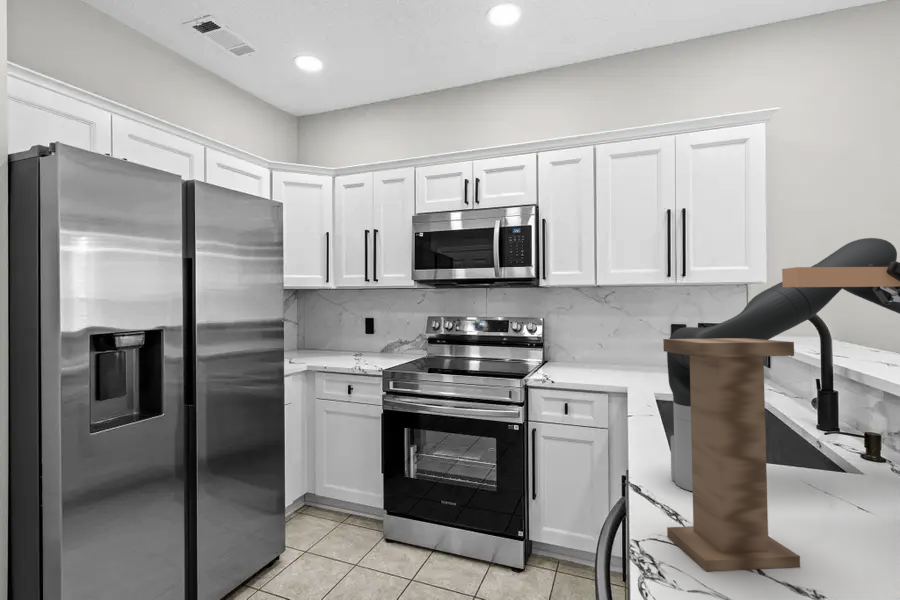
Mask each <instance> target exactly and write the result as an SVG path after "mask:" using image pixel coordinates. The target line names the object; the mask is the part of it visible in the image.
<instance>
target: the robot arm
mask: <svg viewBox="0 0 900 600" xmlns="http://www.w3.org/2000/svg"><path fill="white" fill-rule="evenodd" d="M897 259H898V252H897V249H896V247H895V245H894V244H892V242H889V241H888V240H886V239H883V238H878V237H877V238H876V237H867V238H859V239H856V240H853V241H850V242H847V243H846V244H844V245H843V246H841V247H839V248H838V249H837V250H835V251H833V252H832V253H831V254H829V255H828V256H827V257H824V259H821V261H819V262H817V263H816V264H814V265H812V266H811V267H888V269H887V274H889V275H890V276H892V277H894V278H895V279H897V280H899V281H900V262H899V261H897ZM842 290H844V291H846V292H847V293H850V294H852V295H853V296H857V297H858V298H861V299H863V300H866V301H868V302H870V303H873V304H875V305H878V306H880V307H881V308H885V309H887V310H889V311H892V312H894V313H897V314H899V315H900V286H899V287H783V284H782V281H780V282H778V283H776V284H775V285H772V286H771V287H769V288H767V289H764V290H762V291H761V292H760V293H758V294H757V295H755V296H754V297H752V298H751V299H750V300H749V302H748V303H747V304H746V305H745V307H744V309H743V310H742V311H741V312H739V314H737V315H735V316H733V317H731V318H729V319H727V320H725V321H722V322H720V323H717V324H715V325H711V326H707V327H697V326H695V327H694V326H693V327H692V326H685V327H680V328H678V329H677V330H675V331H674V332H672V334H670V337H669V339H714V338H749V339H762V340H771V339H772V338H774V337H777V336H778V335H780V334H783V333H784V332H787V331H788V330H791V329H792V328H795V327H796V326H798V325H800V324H802V323H804V322H807V321H808V320H809V319H811V318H813V317H814V316H815V315H817V314H818V313H819V312H820V311H821V310H822V309H824V308H825V307H826V306H827V305H828V304H829V303H830V301H832V299H833V298H835V296H837V294H838V293H839V292H840V291H842ZM666 360H667V374H668V384H669V388H670V391H671V393H672V396H673V398H672V400H673V435H671V436H670V474H671V475H670V476H671V477H670V478H671V480H672V481H673V482H674V483H675V484H676V485H677V486H678V487H679V488H681V489H683V490H686V491H690V492H693V486H692V441H691V395H690V355H684V354H677V353H671V352H666Z"/></svg>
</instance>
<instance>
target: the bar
mask: <svg viewBox="0 0 900 600" xmlns="http://www.w3.org/2000/svg"><path fill="white" fill-rule="evenodd" d="M887 269H888V267H812V266H804V267H803V266H795V267H788V268H782V269H781V277H782V279H781V280H782V281H781V282H782V284H783V287H899V286H900V281H899V280H897V279H895V278H894V277H892V276H890V275H889V274H887Z"/></svg>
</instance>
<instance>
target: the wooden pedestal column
mask: <svg viewBox="0 0 900 600" xmlns="http://www.w3.org/2000/svg"><path fill="white" fill-rule="evenodd" d="M662 339H663V352H666V353H667V352H671V353H677V354H684V355H690V395H691V441H692V486H693V491H692V519H693V520H692V522H693V523H692V524H693V525H692V526H691V525H690V526H669V527H668V526H667V527H666V528H667V529H666V530H667V531H666V534H667V535H666V536H667V538H668V539H669V540H670V541H671V542H673V543H674V544H675V545H676V546H677V547H678V548H679V549H681V551H683V552H684V553H685V554H686V555H688V557H689V558H690V559H692V560H693V561H694V562H695V563H696V564H697V565H698V566H699V567H700V568H702V569H703V570H704V571H705V572H723V571H725V572H727V571H739V570H740V571H743V570H744V571H745V570H762V569H763V570H765V569H780V568H781V569H782V568H783V569H784V568H785V569H786V568H800V567H801V556H800V555H799V554H797V553H796V552H794V551H792V550H791V549H790V548H788V547H786V546H785V545H784V544H781V543H780V542H778V541H777V540H775V539H774V538H773V537H771V536H769V521H768V519H769V518H768V516H769V515H768V488H767V487H768V478H767V477H768V475H767V442H766V441H767V440H766V439H767V437H766V436H767V435H766V405H765V404H766V403H765V402H766V401H765V371H764V370H765V367H764V365H765V363H764V357H794V356H795V342H794V341H787V340H773V339H772V340H771V339H769V340H762V339H749V338H714V339H670V338H662Z"/></svg>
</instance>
